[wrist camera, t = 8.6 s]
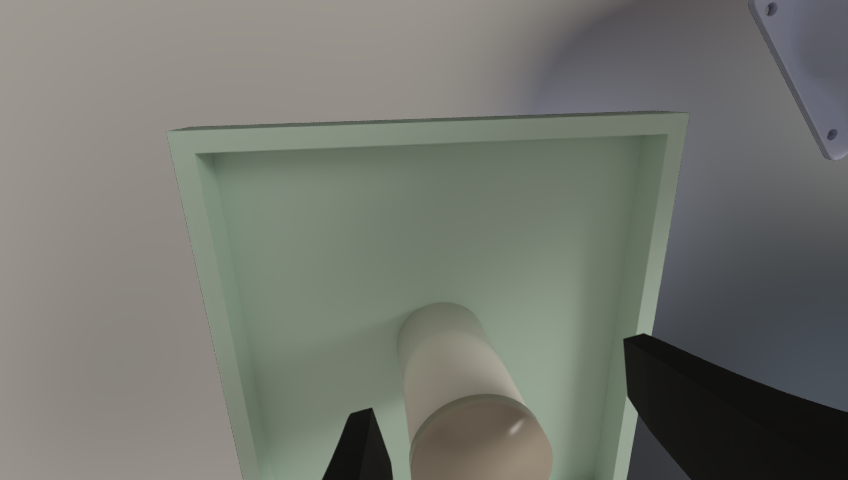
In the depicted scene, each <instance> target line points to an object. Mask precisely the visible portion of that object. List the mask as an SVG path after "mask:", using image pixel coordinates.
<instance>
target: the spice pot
mask: <svg viewBox="0 0 848 480" xmlns="http://www.w3.org/2000/svg"><path fill="white" fill-rule="evenodd" d="M397 351H398V358H399V366H400V374H401V381H402V389H403V397H404V404H405V412H406V419H407V427H408V435H409V442H410V452H409V465H410V474H411V480H549V477H550V474H551V471H552V465H553V454H552V448H551V445H550V442H549V440H548V438H547V436H546V434H545V433H544V431H543V429H542V427H541V425H540V424H539V422H538V420H537V418H536V417H535V416H534V414H533V413H532V412H531V411H530V410H529V409H528V408H527V406H526V405H525V403H524V401H523V399H522V397H521V395H520V394H519V392H518V390H517V388H516V386H515V385H514V383H513V381H512V379H511V377H510V375H509V374H508V372H507V370H506V368H505V366H504V364H503V363H502V361H501V359H500V357H499V355H498V354H497V352H496V350H495V348H494V346H493V344H492V343H491V341H490V339H489V337H488V335H487V334H486V332H485V330H484V328H483V326H482V324H481V323H480V321H479V319H478V318H477V317H476V315H475V314H474V313H473V312H471V311H470V310H469V309H467V308H465V307H464V306H461V305H459V304H455V303H449V302H440V303H434V304H430V305H427V306H424V307H422V308H420V309H419V310H417V311H416V312H414V313H413V314H412V315H411V316H410V317H409V318H408V319H407V320H406V321H405V323H404V324H403V326H402V328H401V330H400V332H399V335H398V340H397Z"/></svg>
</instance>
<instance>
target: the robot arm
mask: <svg viewBox="0 0 848 480" xmlns="http://www.w3.org/2000/svg"><path fill="white" fill-rule="evenodd" d="M748 5H749V9H750V11H751V14H752V15H753V17H754V19H755V21H756V23H757V25H758V27H759V29H760V31H761V33H762V35H763V37H764V39H765V41H766V43H767V45H768V47H769V49H770V51H771V53H772V55H773V57H774V59H775V61H776V63H777V65H778V67H779V69H780V71H781V73H782V75H783V77H784V79H785V81H786V83H787V85H788V87H789V88H790V91H791V93H792V95H793V97H794V99H795V101H796V103H797V105H798V106H799V109H800V110H801V112H802V114H803V116H804V118H805V120H806V122H807V124H808V126H809V128H810V130H811V132H812V134H813V136H814V138H815V140H816V142H817V144H818V146H819V148H820V150H821V152H822V154H823V156H824V157H825V158H826V159H829V160H840V159H841V158H843V157H844V156H845V155H847V154H848V0H749V4H748ZM767 6H769V12H768V14H766V8H767ZM828 132H829V135H828ZM827 135H828V136H827ZM623 345H624V358H625V372H626V385H627V397H628V398H629V400H630V401H631V403H632V405H633V406H634V408H635V409H636V411H637V412H638V414H639V415H640V417H641V418H642V420H643V421H644V423H645V424H646V425H647V427H648V428H649V430H650V431H651V432H652V434H653V435H654V436H655V437H656V438H657V440H658V441H659V442H660V443H661V445H662V446H663V447H664V448H665V449H666V451H667V452H668V453H669V454H670V455H671V456H672V458H673V459H674V460H675V461H676V462H677V464H678V465H679V466H680V467H681V468H682V469H683V471H684V472H685V473H686V474H687V475H688V476H689V478H690V479H691V480H848V412H844V411H841V410H837V409H834V408H831V407H828V406H825V405H822V404H819V403H815V402H812V401H809V400H806V399H803V398H800V397H797V396H794V395H791V394H788V393H785V392H783V391H780V390H777V389H774V388H772V387H769V386H767V385H764V384H761V383H759V382H756V381H753V380H751V379H748V378H746V377H743V376H741V375H738V374H736V373H733V372H731V371H729V370H727V369H724V368H722V367H719V366H717V365H715V364H712V363H710V362H708V361H706V360H703V359H701V358H699V357H697V356H694V355H692V354H690V353H688V352H686V351H683V350H681V349H679V348H677V347H675V346H672V345H670V344H668V343H666V342H664V341H661V340H659V339H657V338H654V337H652V336H650V335H647V334H645V333H642V334H639V335H635V336H632V337H628V338H624V339H623ZM322 480H393V474H392V465H391V460H390V457H389V455H388V452H387V449H386V446H385V443H384V440H383V437H382V434H381V431H380V428H379V426H378V423H377V420H376V417H375V414H374V411H373V408H368V409H364V410H361V411H357V412H353V413H350V415H349V416H348V418H347V421H346V424H345V426H344V429H343V431H342V434H341V437H340V439H339V442H338V444H337V446H336V449H335V451H334V454H333V456H332V458H331V461H330V463H329V465H328V467H327V469H326V472H325V474H324V476H323V478H322Z"/></svg>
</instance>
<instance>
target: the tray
mask: <svg viewBox="0 0 848 480" xmlns="http://www.w3.org/2000/svg"><path fill="white" fill-rule="evenodd" d="M689 115H690V113H685V112H684V113H683V112H668V111H636V112H635V111H633V112H605V113H576V114H548V115H519V116H490V117H461V118H432V119H405V120H404V119H403V120H374V121H349V122H348V121H345V122H318V123H317V122H316V123H288V124H259V125H231V126H201V127H187V128H182V129H176V130H171V131H167V132H166V133H167V138H168V142H169V147H170V151H171V156H172V160H173V165H174V170H175V174H176V179H177V183H178V188H179V192H180V197H181V201H182V206H183V210H184V214H185V219H186V224H187V228H188V233H189V237H190V242H191V246H192V251H193V256H194V260H195V264H196V269H197V274H198V278H199V283H200V287H201V292H202V296H203V301H204V305H205V310H206V314H207V319H208V323H209V328H210V333H211V337H212V342H213V346H214V351H215V355H216V360H217V364H218V368H219V373H220V378H221V382H222V387H223V391H224V395H225V400H226V405H227V409H228V414H229V419H230V423H231V428H232V432H233V437H234V441H235V446H236V450H237V455H238V459H239V464H240V468H241V473H242V478H243V480H322V478H323V476H324V474H325V472H326V469H327V467H328V465H329V463H330V461H331V458H332V456H333V454H334V451H335V449H336V446H337V444H338V442H339V439H340V437H341V434H342V431H343V429H344V426H345V424H346V421H347V418H348V416H349V415H350V413H353V412H357V411H361V410H364V409H368V408H373V411H374V414H375V417H376V420H377V423H378V426H379V428H380V431H381V434H382V437H383V440H384V443H385V446H386V449H387V452H388V455H389V457H390V460H391V465H392V474H393V480H411V474H410V465H409V452H410V442H409V435H408V427H407V419H406V412H405V404H404V397H403V389H402V381H401V374H400V366H399V358H398V351H397V340H398V335H399V332H400V330H401V328H402V326H403V324H404V323H405V321H406V320H407V319H408V318H409V317H410V316H411V315H412V314H413V313H414V312H416V311H417V310H419V309H420V308H422V307H424V306H427V305H430V304H434V303H440V302H449V303H455V304H459V305H461V306H464V307H465V308H467V309H469V310H470V311H471V312H473V313H474V314H475V315H476V317H477V318H478V319H479V321H480V323H481V324H482V326H483V328H484V330H485V332H486V334H487V335H488V337H489V339H490V341H491V343H492V344H493V346H494V348H495V350H496V352H497V354H498V355H499V357H500V359H501V361H502V363H503V364H504V366H505V368H506V370H507V372H508V374H509V375H510V377H511V379H512V381H513V383H514V385H515V386H516V388H517V390H518V392H519V394H520V395H521V397H522V399H523V401H524V403H525V405H526V406H527V408H528V409H529V410H530V411H531V412H532V413H533V414H534V416H535V417H536V418H537V420H538V422H539V424H540V425H541V427H542V429H543V431H544V433H545V434H546V436H547V438H548V440H549V442H550V445H551V448H552V454H553V465H552V471H551V474H550V477H549V480H626V479H627V473H628V467H629V461H630V455H631V450H632V444H633V439H634V432H635V427H636V421H637V415H638V412H637V411H636V409H635V408H634V406H633V405H632V403H631V401H630V400H629V398H628V397H627V385H626V372H625V358H624V345H623V339H624V338H628V337H632V336H635V335H639V334H642V333H645V334H647V335H650V336H651V335H652V329H653V322H654V317H655V311H656V306H657V300H658V294H659V288H660V283H661V277H662V270H663V265H664V260H665V254H666V248H667V241H668V236H669V230H670V224H671V218H672V213H673V208H674V202H675V196H676V190H677V184H678V179H679V173H680V167H681V161H682V155H683V150H684V144H685V138H686V132H687V126H688V121H689Z"/></svg>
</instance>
